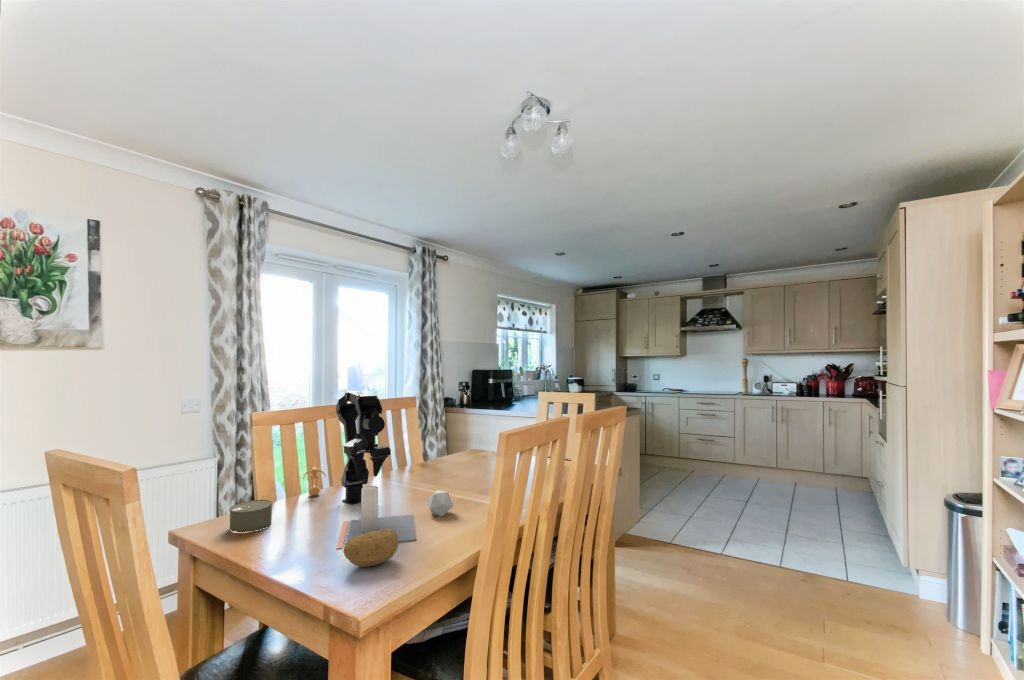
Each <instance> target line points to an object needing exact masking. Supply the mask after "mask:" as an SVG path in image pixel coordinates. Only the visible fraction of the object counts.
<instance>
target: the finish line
mask: <svg viewBox="0 0 1024 680" xmlns="http://www.w3.org/2000/svg"><path fill="white" fill-rule="evenodd" d="M349 524H350V523H349V520H346V521H345V520H344V521H343V523H342V526H341V529H340V533H339V537H338V539H337V540H338V541H337V544H336V548H335V550H342V549H343V547H344V543H345V539H346V534H347V531H348V526H349Z"/></svg>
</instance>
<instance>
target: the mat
mask: <svg viewBox="0 0 1024 680" xmlns="http://www.w3.org/2000/svg"><path fill="white" fill-rule="evenodd" d="M385 529H391V530H393V531H395V532H396V533H397V536H398V544H399V543H405V542H416V541H417V540H418V539H417V534H416V533H417V532H416V528H415V521H414V515H413V514H406V515H393V516H382V517H378V530H377V531H379V530H385ZM347 531H348V532H347V536H346V540H345V545H346V544H347V543H348V542H349V541H350V540H351V539H352V538H354V537H357V536H360V535H363V534H365V533H362V532H361V518H360V519H359V518H358V519H352V520H350V523H349V528H348V530H347ZM345 545H344V546H345Z"/></svg>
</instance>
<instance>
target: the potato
mask: <svg viewBox="0 0 1024 680" xmlns="http://www.w3.org/2000/svg"><path fill="white" fill-rule="evenodd" d="M345 544H346V543H345ZM343 547H344V548H343V552H342V553H343V555H344V556H345V559H347V560H348V561H349V563H351V564H353V565H355V566H356V567H360V568H362V567H363V568H366V567H373V566H377V565H379V564H381V563H384V562H387V561H388V560H390V559H392V558H393V557H394V556H395V553H396V552H397V549H398V547H399V543H398V536H397V533H396V532H395V531H393V530H391V529H385V530H379V531H371V532H368V533H365V534H363V535H360V536H357V537H354V538H352V539H351V540H350V541H349V542H348V543H347V544H346V545H344V546H343Z"/></svg>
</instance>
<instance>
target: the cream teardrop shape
mask: <svg viewBox="0 0 1024 680" xmlns="http://www.w3.org/2000/svg"><path fill="white" fill-rule="evenodd" d="M360 503H361V505H360V507H361V508H360V510H361V511H360V512H361V513H360V514H361V516H360V519H361V532H362V533H368V532H371V531H377V530H378V518H379V486H377V485H367V486H363V488H362V494H361V502H360Z"/></svg>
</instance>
